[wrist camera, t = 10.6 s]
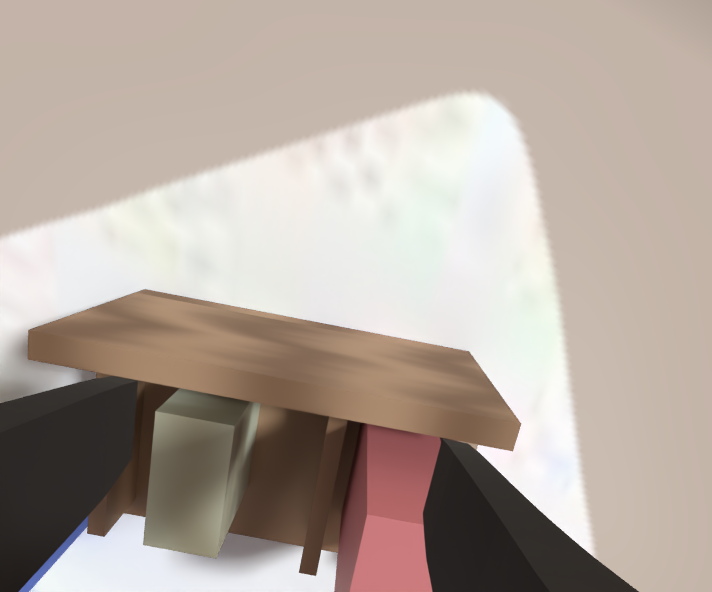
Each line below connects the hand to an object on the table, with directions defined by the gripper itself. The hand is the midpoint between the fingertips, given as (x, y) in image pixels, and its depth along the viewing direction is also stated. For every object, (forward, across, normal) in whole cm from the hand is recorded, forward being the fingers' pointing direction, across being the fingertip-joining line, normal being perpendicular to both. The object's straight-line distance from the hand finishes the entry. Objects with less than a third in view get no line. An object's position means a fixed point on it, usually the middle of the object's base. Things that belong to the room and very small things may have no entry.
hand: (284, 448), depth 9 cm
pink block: (+10, -4, +6) cm, 12 cm away
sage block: (+10, +4, +6) cm, 12 cm away
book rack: (+10, +1, +6) cm, 12 cm away
